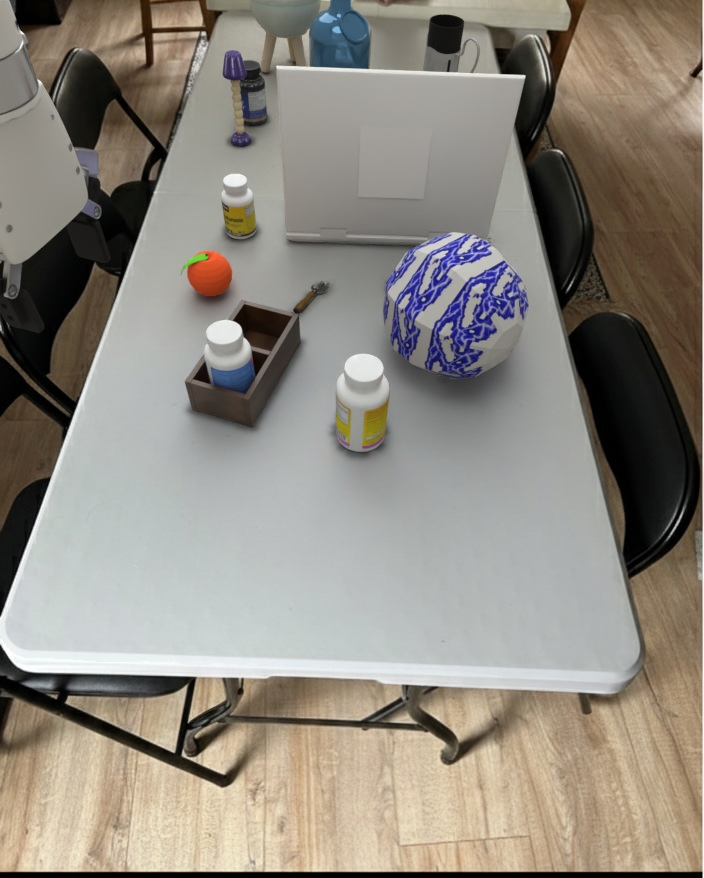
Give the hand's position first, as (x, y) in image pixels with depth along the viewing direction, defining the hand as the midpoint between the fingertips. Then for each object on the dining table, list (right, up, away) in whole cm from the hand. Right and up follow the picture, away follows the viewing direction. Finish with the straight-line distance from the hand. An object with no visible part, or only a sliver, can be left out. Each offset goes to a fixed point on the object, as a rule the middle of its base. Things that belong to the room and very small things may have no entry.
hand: (62, 290), depth 53 cm
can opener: (+18, +10, +46) cm, 51 cm away
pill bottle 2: (+3, +57, +82) cm, 100 cm away
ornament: (+39, 0, +40) cm, 55 cm away
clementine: (+2, +11, +47) cm, 48 cm away
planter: (+9, +77, +98) cm, 125 cm away
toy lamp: (+2, +49, +76) cm, 91 cm away
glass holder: (+47, +67, +91) cm, 122 cm away
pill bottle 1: (+9, -6, +33) cm, 35 cm away
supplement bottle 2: (+26, -12, +30) cm, 42 cm away
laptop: (+31, +31, +63) cm, 77 cm away
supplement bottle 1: (+5, +24, +57) cm, 62 cm away
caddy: (+10, -3, +36) cm, 37 cm away
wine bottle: (+22, +64, +88) cm, 111 cm away
